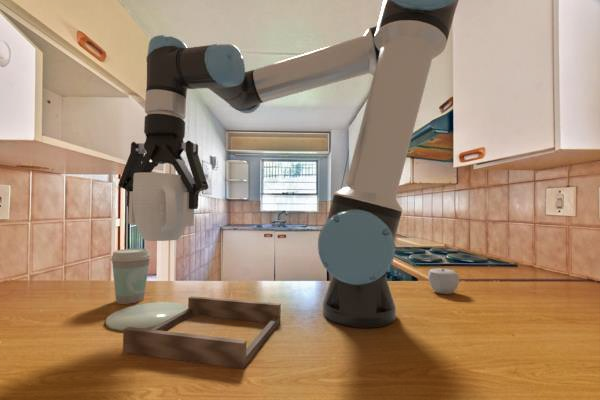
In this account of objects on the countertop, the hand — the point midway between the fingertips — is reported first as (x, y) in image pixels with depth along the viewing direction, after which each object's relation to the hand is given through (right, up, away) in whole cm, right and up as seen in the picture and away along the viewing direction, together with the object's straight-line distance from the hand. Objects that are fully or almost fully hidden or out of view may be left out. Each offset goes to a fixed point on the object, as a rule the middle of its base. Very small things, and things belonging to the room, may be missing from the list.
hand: (160, 224), depth 60 cm
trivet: (-3, -19, +1) cm, 19 cm away
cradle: (+12, -19, -7) cm, 24 cm away
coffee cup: (-13, -20, +12) cm, 26 cm away
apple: (+67, -21, +21) cm, 73 cm away
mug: (0, -3, 0) cm, 3 cm away
